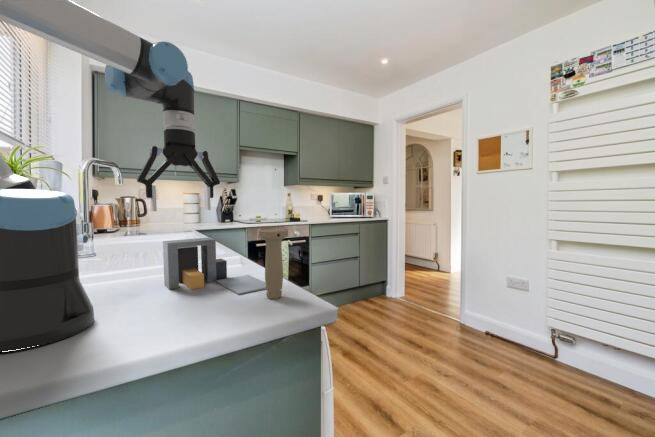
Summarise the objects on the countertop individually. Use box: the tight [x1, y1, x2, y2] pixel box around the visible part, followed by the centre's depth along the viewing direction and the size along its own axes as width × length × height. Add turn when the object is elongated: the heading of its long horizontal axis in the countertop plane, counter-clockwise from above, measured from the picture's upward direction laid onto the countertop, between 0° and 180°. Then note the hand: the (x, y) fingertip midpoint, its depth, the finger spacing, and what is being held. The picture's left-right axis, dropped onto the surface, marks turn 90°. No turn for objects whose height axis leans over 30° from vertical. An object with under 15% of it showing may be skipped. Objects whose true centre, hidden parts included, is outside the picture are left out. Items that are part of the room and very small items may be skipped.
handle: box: [258, 228, 289, 300], centre depth 67 cm, size 5×6×15 cm
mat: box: [215, 274, 266, 296], centre depth 77 cm, size 9×14×1 cm, turn 40°
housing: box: [162, 237, 228, 291], centre depth 79 cm, size 14×5×11 cm, turn 130°
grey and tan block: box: [178, 246, 205, 290], centre depth 79 cm, size 15×5×9 cm, turn 39°
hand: (182, 210), depth 81 cm, fingers open, 13 cm apart
